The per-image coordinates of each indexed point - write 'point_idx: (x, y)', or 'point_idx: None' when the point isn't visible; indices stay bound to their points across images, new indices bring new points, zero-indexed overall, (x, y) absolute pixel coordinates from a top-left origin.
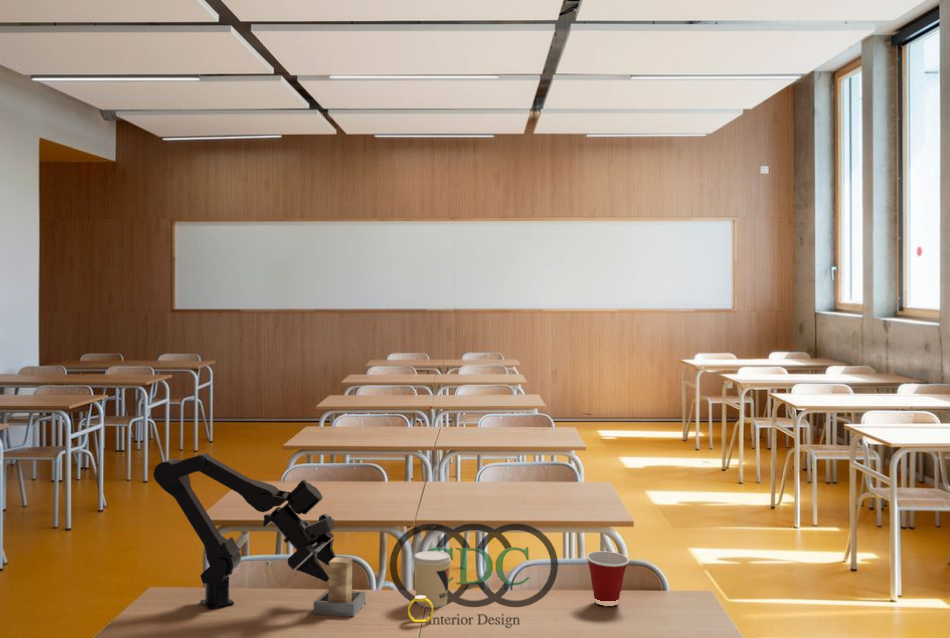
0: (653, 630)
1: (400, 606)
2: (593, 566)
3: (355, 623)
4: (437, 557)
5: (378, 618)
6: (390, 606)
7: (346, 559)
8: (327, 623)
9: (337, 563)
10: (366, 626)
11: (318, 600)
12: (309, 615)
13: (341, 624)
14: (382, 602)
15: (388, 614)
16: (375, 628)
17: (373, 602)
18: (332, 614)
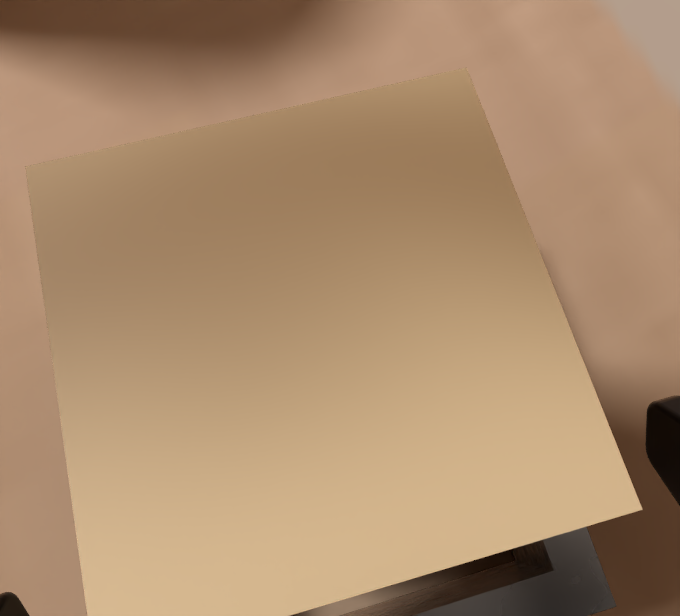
0: None
1: (65, 69)
2: None
3: (553, 158)
4: None
5: (378, 77)
6: (91, 128)
7: (186, 230)
8: (676, 338)
9: (540, 279)
10: (561, 68)
11: (551, 584)
12: (610, 609)
13: (629, 232)
14: (16, 226)
15: (268, 60)
16: (559, 6)
17: (40, 290)
18: None
